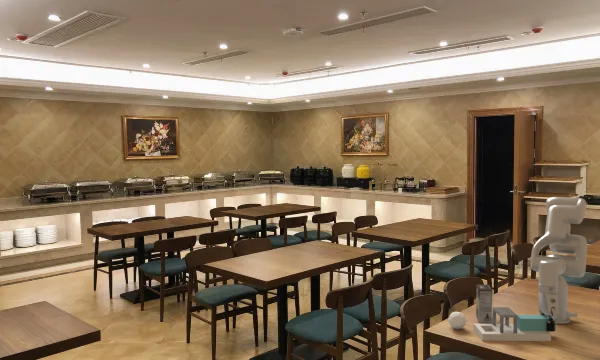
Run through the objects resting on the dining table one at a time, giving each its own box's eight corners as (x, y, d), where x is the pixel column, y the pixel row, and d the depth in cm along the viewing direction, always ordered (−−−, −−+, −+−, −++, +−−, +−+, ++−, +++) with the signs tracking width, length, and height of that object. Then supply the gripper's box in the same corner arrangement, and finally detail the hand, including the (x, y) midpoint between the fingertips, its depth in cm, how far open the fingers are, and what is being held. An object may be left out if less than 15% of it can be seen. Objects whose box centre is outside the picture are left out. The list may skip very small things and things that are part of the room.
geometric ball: (459, 335, 221) (461, 326, 216) (444, 325, 226) (445, 316, 221) (468, 324, 225) (470, 314, 220) (453, 315, 230) (454, 305, 225)
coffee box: (475, 315, 240) (475, 283, 238) (489, 316, 238) (489, 284, 237) (478, 322, 231) (478, 289, 229) (492, 323, 229) (493, 289, 228)
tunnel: (508, 324, 219) (508, 307, 219) (517, 333, 209) (517, 315, 208) (492, 324, 220) (492, 307, 219) (500, 333, 209) (500, 315, 209)
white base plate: (538, 330, 219) (538, 324, 219) (550, 341, 207) (551, 334, 207) (473, 330, 221) (473, 323, 221) (482, 340, 209) (482, 333, 209)
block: (550, 326, 216) (550, 314, 215) (555, 331, 211) (555, 318, 210) (515, 326, 216) (516, 314, 216) (520, 330, 211) (520, 318, 211)
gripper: (566, 294, 203) (565, 336, 204) (547, 282, 220) (546, 321, 222) (548, 294, 204) (547, 336, 205) (530, 282, 221) (530, 321, 222)
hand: (547, 328), depth 213 cm, fingers open, 5 cm apart
